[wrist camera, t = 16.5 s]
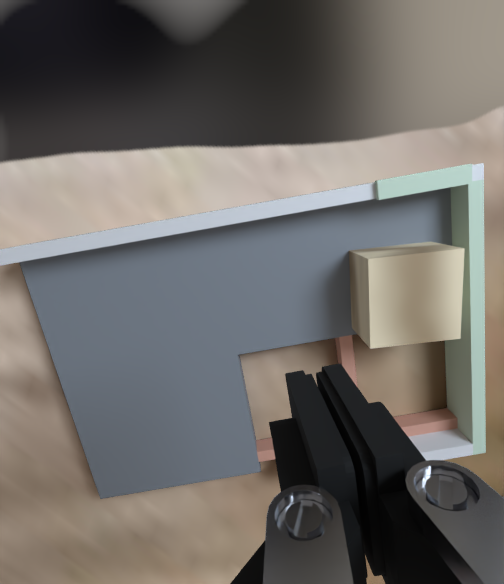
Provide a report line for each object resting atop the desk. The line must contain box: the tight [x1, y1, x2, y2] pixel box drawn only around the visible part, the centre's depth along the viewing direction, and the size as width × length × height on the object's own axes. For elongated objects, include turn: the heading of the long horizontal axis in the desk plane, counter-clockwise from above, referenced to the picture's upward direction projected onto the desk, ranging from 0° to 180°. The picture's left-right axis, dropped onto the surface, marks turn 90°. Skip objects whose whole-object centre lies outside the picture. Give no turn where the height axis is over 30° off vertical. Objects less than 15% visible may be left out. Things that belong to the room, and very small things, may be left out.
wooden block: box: [349, 242, 465, 349], centre depth 24 cm, size 6×6×4 cm
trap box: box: [0, 163, 486, 499], centre depth 27 cm, size 32×22×4 cm
